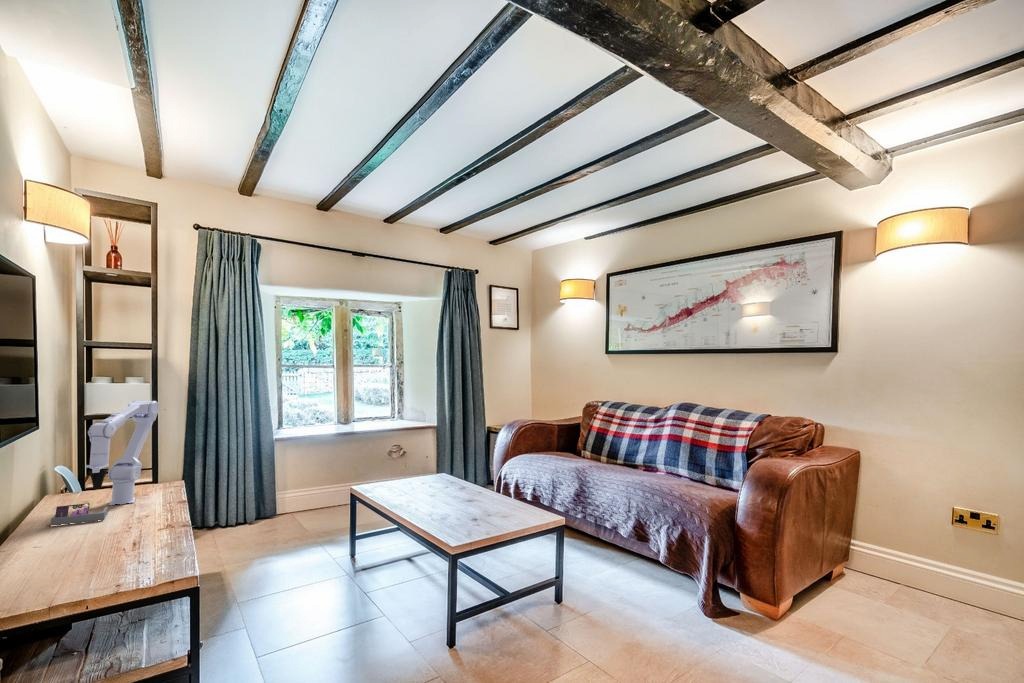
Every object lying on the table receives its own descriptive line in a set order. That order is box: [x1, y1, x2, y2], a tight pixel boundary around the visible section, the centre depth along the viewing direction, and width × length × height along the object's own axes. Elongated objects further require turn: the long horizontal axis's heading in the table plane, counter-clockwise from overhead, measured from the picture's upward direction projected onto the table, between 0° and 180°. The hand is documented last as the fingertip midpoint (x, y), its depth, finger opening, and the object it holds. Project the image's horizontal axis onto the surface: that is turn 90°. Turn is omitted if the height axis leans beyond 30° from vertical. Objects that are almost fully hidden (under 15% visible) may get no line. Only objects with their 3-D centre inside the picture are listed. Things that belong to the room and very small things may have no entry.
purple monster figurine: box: [54, 502, 90, 518], centre depth 174 cm, size 7×5×9 cm
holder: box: [49, 506, 109, 527], centre depth 176 cm, size 9×15×3 cm, turn 124°
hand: (97, 488), depth 186 cm, fingers closed
